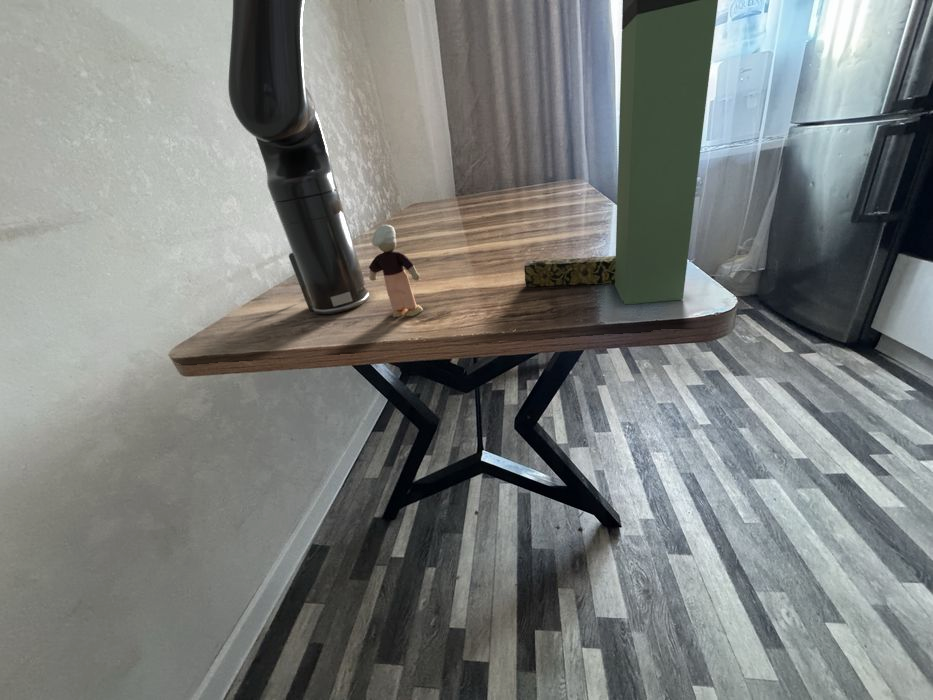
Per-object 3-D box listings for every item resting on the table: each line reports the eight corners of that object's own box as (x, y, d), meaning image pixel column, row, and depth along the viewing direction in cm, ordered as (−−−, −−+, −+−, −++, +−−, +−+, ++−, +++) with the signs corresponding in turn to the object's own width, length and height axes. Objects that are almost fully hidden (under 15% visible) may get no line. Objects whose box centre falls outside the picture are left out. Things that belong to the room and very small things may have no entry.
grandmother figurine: (431, 305, 58) (412, 218, 52) (426, 315, 54) (405, 224, 48) (383, 310, 59) (359, 226, 53) (375, 321, 56) (349, 232, 50)
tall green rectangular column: (624, 304, 47) (639, -43, 32) (614, 286, 53) (623, -17, 38) (683, 299, 46) (726, -65, 31) (666, 281, 52) (696, -35, 37)
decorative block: (525, 287, 58) (523, 264, 56) (528, 281, 60) (526, 259, 58) (636, 283, 53) (637, 258, 51) (635, 277, 55) (637, 253, 53)
